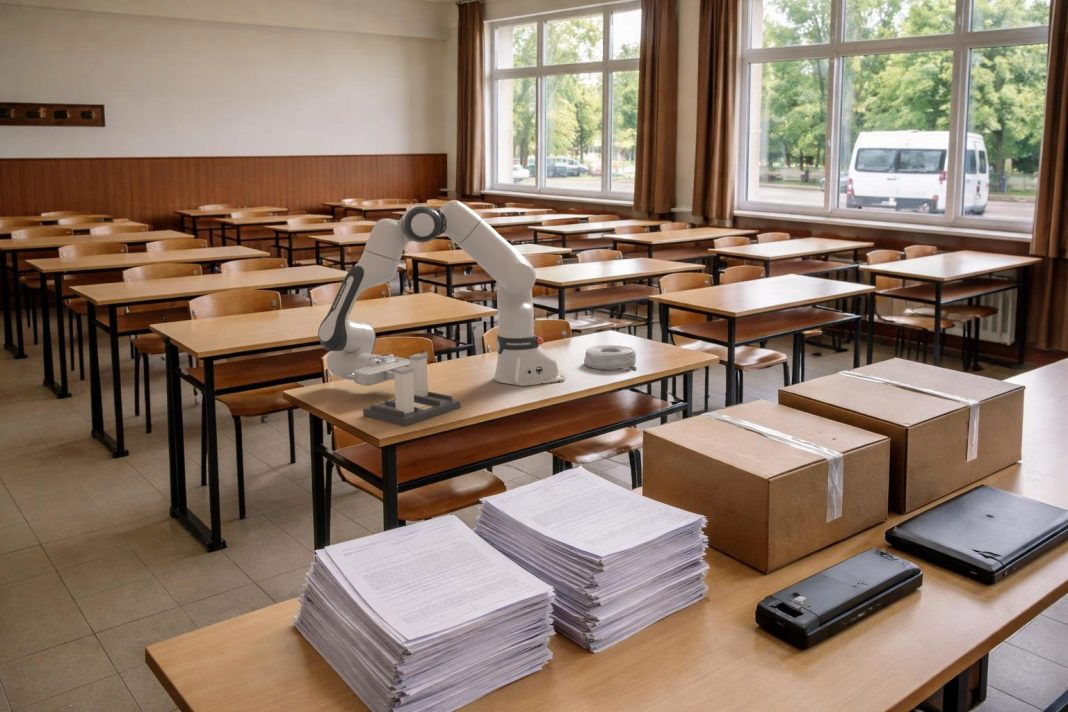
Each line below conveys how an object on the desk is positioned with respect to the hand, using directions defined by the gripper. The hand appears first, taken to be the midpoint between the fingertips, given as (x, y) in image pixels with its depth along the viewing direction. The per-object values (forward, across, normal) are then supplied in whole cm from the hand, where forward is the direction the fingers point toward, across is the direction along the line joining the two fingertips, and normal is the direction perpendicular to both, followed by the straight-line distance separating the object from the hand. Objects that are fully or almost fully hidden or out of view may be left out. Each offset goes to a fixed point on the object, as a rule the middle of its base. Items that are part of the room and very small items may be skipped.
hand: (404, 375), depth 269 cm
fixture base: (+10, -7, +7) cm, 14 cm away
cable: (+25, +73, +8) cm, 77 cm away
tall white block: (+6, 0, +5) cm, 8 cm away
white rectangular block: (+14, -14, +5) cm, 21 cm away
